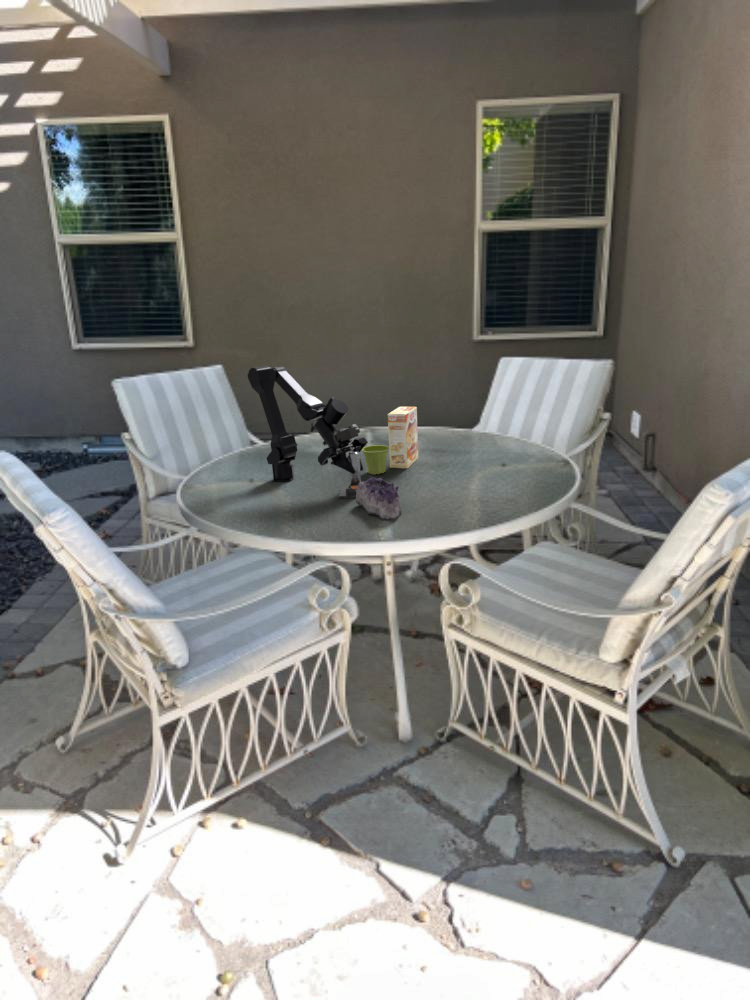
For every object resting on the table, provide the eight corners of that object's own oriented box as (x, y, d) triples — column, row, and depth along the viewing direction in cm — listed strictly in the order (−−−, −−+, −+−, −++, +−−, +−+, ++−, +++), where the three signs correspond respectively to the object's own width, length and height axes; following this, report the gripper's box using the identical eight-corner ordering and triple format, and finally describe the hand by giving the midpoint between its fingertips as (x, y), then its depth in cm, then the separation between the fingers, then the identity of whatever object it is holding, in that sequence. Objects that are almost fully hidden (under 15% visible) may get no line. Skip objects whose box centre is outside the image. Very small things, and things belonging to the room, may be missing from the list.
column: (349, 491, 218) (347, 454, 215) (351, 488, 222) (349, 451, 218) (361, 491, 218) (358, 454, 214) (362, 487, 221) (360, 451, 218)
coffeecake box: (408, 468, 245) (406, 414, 239) (388, 468, 247) (386, 414, 241) (419, 458, 258) (417, 406, 252) (401, 457, 261) (398, 405, 255)
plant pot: (387, 476, 237) (386, 451, 234) (360, 476, 239) (359, 451, 236) (392, 468, 246) (391, 445, 243) (366, 468, 248) (364, 445, 245)
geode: (416, 516, 197) (411, 484, 193) (379, 528, 194) (373, 496, 190) (388, 495, 215) (383, 465, 211) (354, 506, 211) (348, 475, 208)
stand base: (338, 498, 216) (337, 488, 215) (343, 489, 226) (342, 479, 224) (370, 498, 215) (369, 487, 214) (373, 488, 224) (373, 478, 223)
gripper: (321, 423, 208) (351, 463, 205) (361, 412, 222) (390, 449, 219) (305, 445, 216) (333, 484, 212) (344, 433, 229) (372, 470, 226)
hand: (358, 471), depth 217 cm, fingers closed on column, 3 cm apart
